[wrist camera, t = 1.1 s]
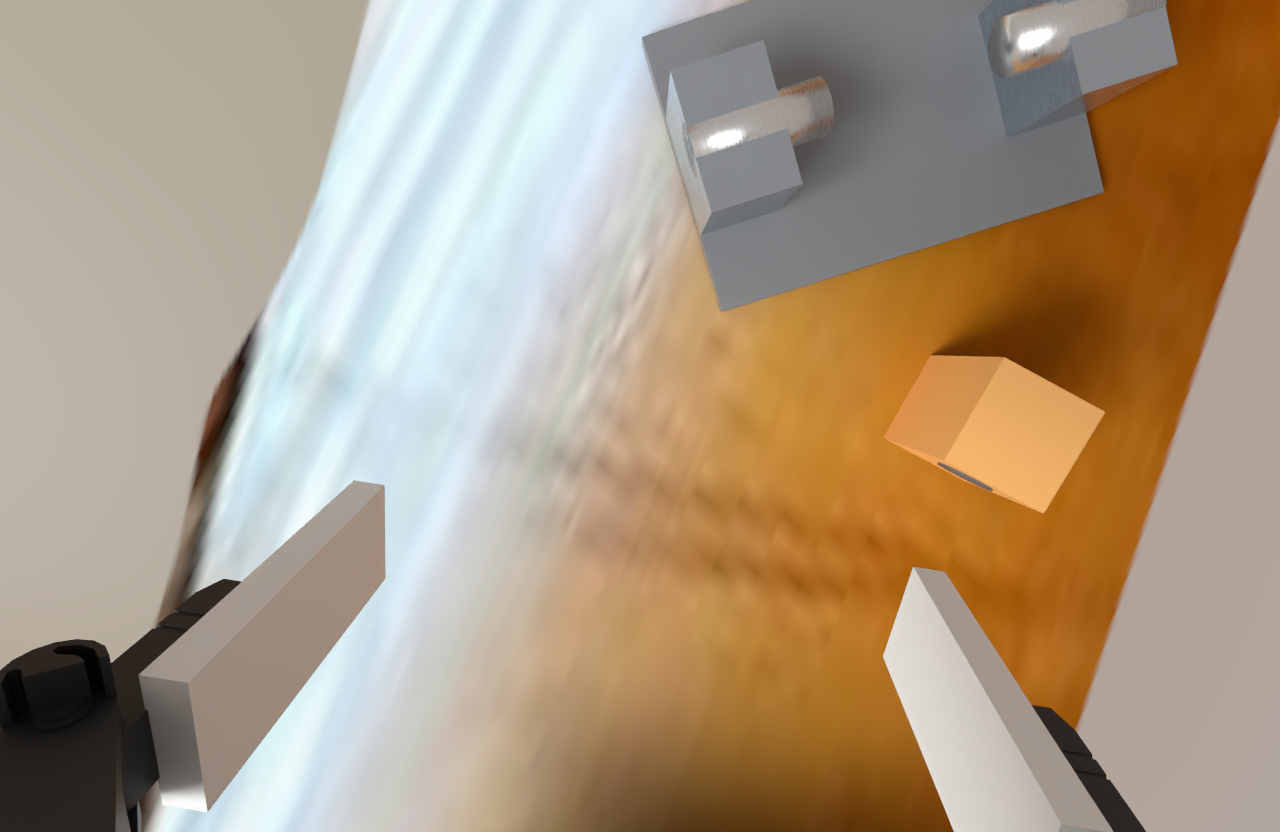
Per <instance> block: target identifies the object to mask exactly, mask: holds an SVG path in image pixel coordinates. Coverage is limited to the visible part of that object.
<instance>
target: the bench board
mask: <svg viewBox="0 0 1280 832" xmlns="http://www.w3.org/2000/svg"><path fill="white" fill-rule="evenodd" d="M993 1H994V0H753V1H750V2H747V3H744V4H741V5H738V6H735V7H732V8H729V9H726V10H723V11H720V12H717V13H713V14H710V15H707V16H704V17H701V18H698V19H695V20H692V21H689V22H686V23H683V24H680V25H677V26H674V27H671V28H668V29H665V30H662V31H659V32H656V33H653V34H650V35H647V36H644V37H642V46H643V49H644V53H645V56H646V60H647V63H648V66H649V70H650V73H651V77H652V80H653V83H654V87H655V90H656V94H657V97H658V100H659V104H660V107H661V111H662V114H663V117H664V121H665V124H666V128H667V131H668V134H669V138H670V141H671V145H672V148H673V151H674V155H675V158H676V162H677V165H678V168H679V172H680V175H681V179H682V182H683V185H684V189H685V192H686V196H687V199H688V203H689V206H690V209H691V213H692V216H693V220H694V223H695V226H696V230H697V233H698V237H699V240H700V243H701V247H702V250H703V254H704V257H705V260H706V264H707V267H708V271H709V274H710V277H711V281H712V284H713V288H714V291H715V294H716V298H717V301H718V305H719V308H720V311H721V312H723V311H726V310H730V309H733V308H736V307H739V306H742V305H746V304H749V303H752V302H755V301H758V300H762V299H765V298H768V297H771V296H774V295H778V294H781V293H784V292H787V291H790V290H794V289H797V288H800V287H803V286H806V285H809V284H813V283H816V282H819V281H822V280H825V279H829V278H832V277H835V276H838V275H841V274H845V273H848V272H851V271H854V270H857V269H861V268H864V267H867V266H870V265H873V264H877V263H880V262H883V261H886V260H889V259H893V258H896V257H899V256H902V255H905V254H909V253H912V252H915V251H918V250H921V249H925V248H928V247H931V246H934V245H937V244H941V243H944V242H947V241H950V240H953V239H957V238H960V237H963V236H966V235H969V234H973V233H976V232H979V231H982V230H985V229H989V228H992V227H995V226H998V225H1001V224H1005V223H1008V222H1011V221H1014V220H1017V219H1021V218H1024V217H1027V216H1030V215H1033V214H1037V213H1040V212H1043V211H1046V210H1049V209H1053V208H1056V207H1059V206H1062V205H1065V204H1069V203H1072V202H1075V201H1078V200H1081V199H1085V198H1088V197H1091V196H1094V195H1097V194H1100V193H1103V192H1104V190H1103V185H1102V181H1101V176H1100V172H1099V168H1098V163H1097V159H1096V155H1095V150H1094V146H1093V141H1092V137H1091V133H1090V128H1089V124H1088V119H1087V115H1086V113H1084V114H1081V115H1078V116H1075V117H1071V118H1068V119H1065V120H1062V121H1059V122H1056V123H1053V124H1049V125H1046V126H1043V127H1040V128H1037V129H1034V130H1031V131H1027V132H1024V133H1021V134H1018V135H1015V136H1012V137H1009V138H1007V134H1006V130H1005V126H1004V122H1003V117H1002V113H1001V109H1000V105H999V101H998V97H997V92H996V88H995V84H994V80H993V76H992V72H991V68H990V63H989V59H988V55H987V51H986V47H985V43H984V38H983V34H982V30H981V26H980V22H979V18H978V16H979V15H980V14H981V13H982V12H983V11H984V10H985V9H986V8H987V7H988V6H989V5H990V4H991V3H992V2H993ZM762 40H763V41H764V44H765V48H766V52H767V55H768V59H769V62H770V66H771V70H772V73H773V77H774V81H775V84H776V88H777V90H778V89H781V88H784V87H787V86H790V85H793V84H797V83H800V82H803V81H806V80H809V79H812V78H815V77H818V76H820V77H822V78H823V79H824V80H825V82H826V84H827V85H828V88H829V91H830V94H831V97H832V102H833V108H834V126H833V130H832V133H831V134H830V135H829V136H826V137H823V138H820V139H816V140H813V141H810V142H807V143H804V144H801V145H798V146H795V147H793V150H794V153H795V157H796V161H797V164H798V168H799V172H800V175H801V179H802V183H803V184H802V185H801V186H800V187H799V188H798V189H797V190H796V191H795V192H794V193H793V194H792V195H791V196H790V197H789V198H788V200H787V201H786V202H785V203H784V204H783V205H782V206H781V207H780V208H779V209H778V210H777V211H776V212H772V213H769V214H766V215H763V216H760V217H757V218H754V219H750V220H747V221H744V222H741V223H738V224H735V225H732V226H728V227H725V228H722V229H719V230H716V231H713V232H710V233H706V234H703V235H700V233H699V229H698V226H697V222H696V219H695V216H694V212H693V209H692V205H691V202H690V199H689V195H688V192H687V188H686V185H685V182H684V178H683V175H682V171H681V168H680V165H679V161H678V158H677V154H676V151H675V148H674V144H673V141H672V137H671V134H670V130H669V127H668V124H667V120H666V111H667V100H668V90H669V79H670V70H673V69H676V68H679V67H683V66H686V65H689V64H692V63H695V62H698V61H701V60H704V59H707V58H710V57H713V56H716V55H719V54H722V53H725V52H728V51H731V50H734V49H737V48H740V47H743V46H746V45H750V44H753V43H756V42H759V41H762Z"/></svg>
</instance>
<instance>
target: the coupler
mask: <svg viewBox="0 0 1280 832" xmlns="http://www.w3.org/2000/svg"><path fill="white" fill-rule="evenodd" d="M1104 414H1105V412H1104V411H1103V410H1101V409H1099V408H1097V407H1095V406H1093V405H1092V404H1090V403H1088V402H1086V401H1084V400H1082V399H1081V398H1079V397H1077V396H1075V395H1073V394H1071V393H1069V392H1068V391H1066V390H1064V389H1062V388H1060V387H1058V386H1057V385H1055V384H1053V383H1051V382H1049V381H1047V380H1046V379H1044V378H1042V377H1040V376H1038V375H1036V374H1035V373H1033V372H1031V371H1029V370H1027V369H1025V368H1024V367H1022V366H1020V365H1018V364H1016V363H1014V362H1013V361H1011V360H1009V359H1007V358H1005V357H980V356H941V355H930V357H929V359H928V361H927V362H926V364H925V366H924V368H923V369H922V371H921V373H920V375H919V376H918V378H917V380H916V382H915V383H914V385H913V387H912V389H911V390H910V392H909V394H908V396H907V397H906V399H905V401H904V403H903V404H902V406H901V408H900V409H899V411H898V413H897V415H896V416H895V418H894V420H893V422H892V423H891V425H890V427H889V429H888V430H887V432H886V434H885V436H884V437H883V438H885V439H887V440H888V441H890V442H892V443H894V444H896V445H898V446H900V447H902V448H903V449H905V450H907V451H909V452H911V453H913V454H915V455H917V456H918V457H920V458H922V459H924V460H926V461H928V462H930V463H932V464H934V465H935V466H937V467H939V468H941V469H943V470H945V471H947V472H949V473H950V474H952V475H954V476H956V477H958V478H960V479H962V480H964V481H966V482H968V483H971V484H973V485H976V486H978V487H981V488H983V489H985V490H988V491H990V492H993V493H995V494H997V495H1000V496H1002V497H1005V498H1007V499H1010V500H1012V501H1014V502H1017V503H1019V504H1022V505H1024V506H1026V507H1029V508H1031V509H1034V510H1036V511H1039V512H1041V513H1043V514H1044V512H1045V511H1046V509H1047V507H1048V506H1049V504H1050V502H1051V501H1052V499H1053V497H1054V496H1055V494H1056V492H1057V491H1058V489H1059V488H1060V486H1061V484H1062V483H1063V481H1064V479H1065V478H1066V476H1067V474H1068V473H1069V471H1070V469H1071V468H1072V466H1073V465H1074V463H1075V461H1076V460H1077V458H1078V456H1079V455H1080V453H1081V451H1082V450H1083V448H1084V446H1085V445H1086V443H1087V441H1088V440H1089V438H1090V437H1091V435H1092V433H1093V432H1094V430H1095V428H1096V427H1097V425H1098V423H1099V422H1100V420H1101V418H1102V417H1103V415H1104Z"/></svg>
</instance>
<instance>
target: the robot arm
mask: <svg viewBox="0 0 1280 832" xmlns="http://www.w3.org/2000/svg"><path fill="white" fill-rule="evenodd" d="M384 580H385V493H384V485H380V484H373V483H367V482H360V481H353V482H352V483H351V484H350V485H349V486H348V487H346V488H345V489H344V490H343V491H342V492H341V493H340V494H339V495H338V496H336V497H335V498H334V499H333V500H332V501H331V502H330V503H329V504H328V505H326V506H325V507H324V508H323V509H322V510H321V511H320V512H319V513H318V514H316V515H315V516H314V517H313V518H312V519H311V520H310V521H309V522H308V523H306V524H305V525H304V526H303V527H302V528H301V529H300V530H299V531H298V532H296V533H295V534H294V535H293V536H292V537H291V538H290V539H289V540H288V541H286V542H285V543H284V544H283V545H282V546H281V547H280V548H279V549H278V550H277V551H275V552H274V553H273V554H272V555H271V556H270V557H269V558H268V559H267V560H265V561H264V562H263V563H262V564H261V565H260V566H259V567H258V568H257V569H255V570H254V571H253V572H252V573H251V574H250V575H249V576H248V577H247V578H245V579H244V580H243V581H242V582H240V581H234V580H228V579H223V580H220V581H218V582H216V583H214V584H212V585H210V586H208V587H206V588H204V589H202V590H200V591H198V592H196V593H195V594H193V595H192V596H191V597H190V598H189V599H187V600H186V601H185V602H184V603H183V604H182V605H180V606H179V607H178V608H177V609H176V610H175V612H174V614H170V615H168V616H167V617H166V618H165V619H164V620H162V621H161V622H160V623H159V624H158V625H157V628H156V629H152V630H151V631H149V632H148V633H147V634H146V635H145V636H143V637H142V638H141V639H140V640H139V641H138V642H136V643H135V644H134V645H133V646H131V647H130V648H129V649H128V650H127V651H125V652H124V653H123V654H122V655H121V656H120V657H118V658H117V659H116V660H115V661H114V662H113V663H111V662H110V657H109V654H108V651H107V649H106V647H105V646H104V645H102V644H100V643H97V642H96V641H92V640H79V639H75V640H68V641H62V642H55V643H52V644H49V645H46V646H43V647H40V648H37V649H34V650H32V651H30V652H28V653H26V654H24V655H22V656H20V657H18V658H16V659H14V660H12V661H11V662H10V663H9V664H7V665H6V666H5V667H4V668H3V669H1V670H0V832H142V823H141V810H140V805H139V800H140V799H141V798H142V797H143V796H144V795H145V794H146V792H147V791H148V790H149V789H150V788H151V787H152V786H153V784H154V783H155V782H156V781H157V780H158V783H159V788H160V793H161V799H162V804H163V805H167V806H173V807H179V808H185V809H191V810H197V811H203V812H208V811H209V810H210V808H211V807H212V806H213V804H214V803H215V802H216V801H217V799H218V798H219V797H220V795H221V794H222V793H223V791H224V790H225V789H226V787H227V786H228V785H229V783H230V782H231V781H232V779H233V778H234V777H235V776H236V774H237V773H238V772H239V770H240V769H241V768H242V766H243V765H244V764H245V762H246V761H247V760H248V758H249V757H250V756H251V754H252V753H253V752H254V751H255V749H256V748H257V747H258V745H259V744H260V743H261V741H262V740H263V739H264V737H265V736H266V735H267V733H268V732H269V731H270V729H271V728H272V727H273V726H274V724H275V723H276V722H277V720H278V719H279V718H280V716H281V715H282V714H283V712H284V711H285V710H286V708H287V707H288V706H289V704H290V703H291V702H292V701H293V699H294V698H295V697H296V695H297V694H298V693H299V691H300V690H301V689H302V687H303V686H304V685H305V683H306V682H307V681H308V679H309V678H310V677H311V676H312V674H313V673H314V672H315V670H316V669H317V668H318V666H319V665H320V664H321V662H322V661H323V660H324V658H325V657H326V656H327V654H328V653H329V652H330V651H331V649H332V648H333V647H334V645H335V644H336V643H337V641H338V640H339V639H340V637H341V636H342V635H343V633H344V632H345V631H346V629H347V628H348V627H349V626H350V624H351V623H352V622H353V620H354V619H355V618H356V616H357V615H358V614H359V612H360V611H361V610H362V608H363V607H364V606H365V605H366V603H367V602H368V601H369V599H370V598H371V597H372V595H373V594H374V593H375V591H376V590H377V589H378V587H379V586H380V585H381V583H382V582H383V581H384ZM883 658H884V660H885V663H886V665H887V668H888V670H889V673H890V675H891V678H892V680H893V683H894V685H895V687H896V690H897V692H898V695H899V697H900V700H901V702H902V705H903V707H904V710H905V712H906V715H907V717H908V720H909V722H910V724H911V727H912V729H913V732H914V734H915V737H916V739H917V742H918V744H919V747H920V749H921V752H922V754H923V757H924V759H925V761H926V764H927V766H928V769H929V771H930V774H931V776H932V779H933V781H934V784H935V786H936V789H937V791H938V794H939V796H940V799H941V801H942V803H943V806H944V808H945V811H946V813H947V816H948V818H949V821H950V823H951V826H952V828H953V831H954V832H1146V831H1145V830H1144V828H1143V827H1142V825H1141V824H1140V822H1139V821H1138V820H1137V818H1136V817H1135V815H1134V814H1133V812H1132V811H1131V809H1130V808H1129V807H1128V805H1127V804H1126V802H1125V801H1124V799H1123V798H1122V797H1121V795H1120V794H1119V792H1118V791H1117V790H1116V788H1115V787H1114V785H1113V784H1112V783H1111V781H1110V780H1107V779H1106V774H1105V772H1104V771H1103V770H1102V768H1101V767H1100V765H1099V764H1098V762H1097V761H1096V760H1093V758H1092V754H1091V752H1090V751H1089V750H1088V748H1087V747H1086V745H1085V744H1084V742H1083V741H1082V739H1081V738H1080V737H1079V735H1078V734H1077V732H1076V731H1075V730H1074V729H1073V728H1072V727H1071V726H1070V725H1068V724H1067V723H1066V722H1065V721H1064V720H1063V719H1062V718H1061V717H1060V716H1059V715H1057V714H1056V713H1055V712H1054V711H1053V710H1052V709H1051V708H1047V707H1040V706H1034V705H1031V704H1030V702H1029V701H1028V699H1027V698H1026V696H1025V695H1024V693H1023V692H1022V690H1021V688H1020V687H1019V685H1018V684H1017V682H1016V681H1015V679H1014V678H1013V676H1012V675H1011V673H1010V672H1009V670H1008V668H1007V667H1006V665H1005V664H1004V662H1003V661H1002V659H1001V658H1000V656H999V655H998V653H997V652H996V650H995V648H994V647H993V645H992V644H991V642H990V641H989V639H988V638H987V636H986V635H985V633H984V631H983V630H982V628H981V627H980V625H979V624H978V622H977V621H976V619H975V618H974V616H973V615H972V613H971V611H970V610H969V608H968V607H967V605H966V604H965V602H964V601H963V599H962V598H961V596H960V595H959V593H958V591H957V590H956V588H955V587H954V585H953V584H952V582H951V581H950V579H949V578H948V576H947V575H946V573H945V572H943V571H937V570H930V569H924V568H917V567H913V569H912V572H911V575H910V578H909V581H908V584H907V587H906V590H905V593H904V596H903V599H902V602H901V605H900V608H899V611H898V614H897V617H896V620H895V623H894V626H893V629H892V632H891V635H890V638H889V641H888V643H887V646H886V649H885V652H884V655H883Z"/></svg>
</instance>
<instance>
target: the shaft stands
mask: <svg viewBox="0 0 1280 832" xmlns="http://www.w3.org/2000/svg"><path fill="white" fill-rule="evenodd" d="M1166 2H1167V0H994V1H993V2H992V3H991V4H990V5H989V6H988V7H987V8H986V9H985V10H984V11H983V12H982V13H981V14H980V15H979V16H978V18H979V22H980V26H981V30H982V34H983V38H984V43H985V47H986V51H987V55H988V59H989V63H990V68H991V72H992V76H993V80H994V84H995V88H996V92H997V97H998V101H999V105H1000V109H1001V113H1002V117H1003V122H1004V126H1005V130H1006V134H1007V138H1009V137H1012V136H1015V135H1018V134H1021V133H1024V132H1027V131H1031V130H1034V129H1037V128H1040V127H1043V126H1046V125H1049V124H1053V123H1056V122H1059V121H1062V120H1065V119H1068V118H1071V117H1075V116H1078V115H1081V114H1084V113H1087V112H1089V111H1090V110H1092V109H1094V108H1096V107H1098V106H1100V105H1102V104H1104V103H1106V102H1107V101H1109V100H1111V99H1113V98H1115V97H1117V96H1119V95H1121V94H1123V93H1124V92H1126V91H1128V90H1130V89H1132V88H1134V87H1136V86H1138V85H1139V84H1141V83H1143V82H1145V81H1147V80H1149V79H1151V78H1153V77H1155V76H1156V75H1158V74H1160V73H1162V72H1164V71H1166V70H1168V69H1170V68H1171V67H1173V66H1175V65H1177V64H1178V63H1177V58H1176V53H1175V48H1174V44H1173V39H1172V34H1171V30H1170V25H1169V20H1168V15H1167V11H1166ZM666 120H667V124H668V127H669V130H670V134H671V137H672V141H673V144H674V148H675V151H676V154H677V158H678V161H679V165H680V168H681V171H682V175H683V178H684V182H685V185H686V188H687V192H688V195H689V199H690V202H691V205H692V209H693V212H694V216H695V219H696V222H697V226H698V229H699V233H700V235H703V234H706V233H710V232H713V231H716V230H719V229H722V228H725V227H728V226H732V225H735V224H738V223H741V222H744V221H747V220H750V219H754V218H757V217H760V216H763V215H766V214H769V213H772V212H776V211H777V210H778V209H779V208H780V207H781V206H782V205H783V204H784V203H785V202H786V201H787V200H788V198H789V197H790V196H791V195H792V194H793V193H794V192H795V191H796V190H797V189H798V188H799V187H800V186H801V185H802V184H803V183H802V179H801V175H800V172H799V168H798V164H797V161H796V157H795V153H794V150H793V147H795V146H798V145H801V144H804V143H807V142H810V141H813V140H816V139H820V138H823V137H826V136H829V135H830V134H831V133H832V130H833V126H834V108H833V102H832V97H831V94H830V91H829V88H828V85H827V84H826V82H825V80H824V79H823V78H822V77H820V76H818V77H815V78H812V79H809V80H806V81H803V82H800V83H797V84H793V85H790V86H787V87H784V88H781V89H778V90H777V88H776V84H775V81H774V77H773V73H772V70H771V66H770V62H769V59H768V55H767V52H766V48H765V44H764V41H763V40H762V41H759V42H756V43H753V44H750V45H746V46H743V47H740V48H737V49H734V50H731V51H728V52H725V53H722V54H719V55H716V56H713V57H710V58H707V59H704V60H701V61H698V62H695V63H692V64H689V65H686V66H683V67H679V68H676V69H673V70H670V79H669V90H668V100H667V111H666Z"/></svg>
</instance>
